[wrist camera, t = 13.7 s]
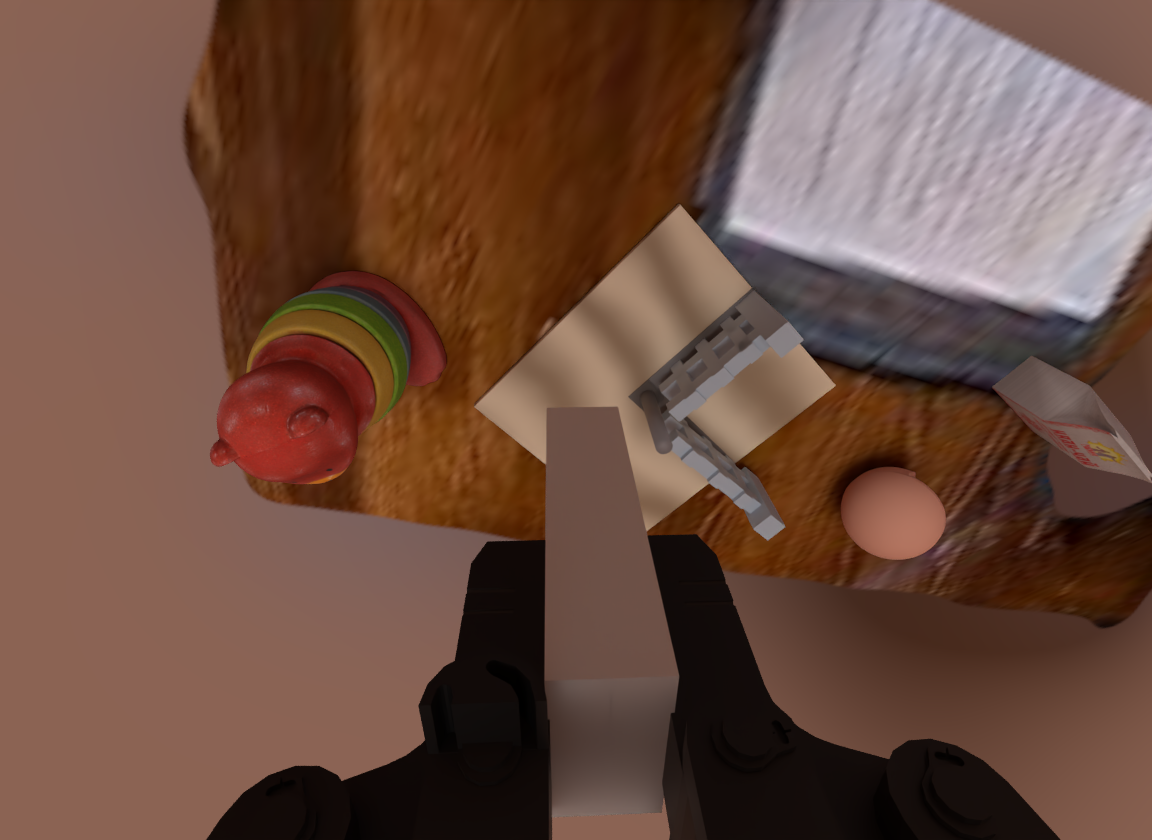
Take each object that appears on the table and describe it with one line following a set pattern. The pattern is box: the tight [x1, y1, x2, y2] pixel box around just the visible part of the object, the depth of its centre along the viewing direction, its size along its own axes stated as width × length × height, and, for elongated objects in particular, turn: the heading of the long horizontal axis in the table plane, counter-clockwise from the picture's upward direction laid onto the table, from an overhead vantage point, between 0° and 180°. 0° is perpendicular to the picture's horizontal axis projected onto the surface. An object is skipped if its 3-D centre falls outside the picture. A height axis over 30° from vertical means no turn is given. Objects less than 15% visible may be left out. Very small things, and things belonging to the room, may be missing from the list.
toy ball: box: [841, 467, 946, 560], centre depth 50 cm, size 8×8×8 cm
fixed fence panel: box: [640, 291, 804, 454], centre depth 42 cm, size 12×2×8 cm, turn 135°
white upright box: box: [992, 356, 1152, 483], centre depth 45 cm, size 4×7×10 cm, turn 50°
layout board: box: [474, 204, 836, 531], centre depth 48 cm, size 22×20×1 cm
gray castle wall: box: [662, 409, 785, 540], centre depth 47 cm, size 12×2×7 cm, turn 48°
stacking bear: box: [210, 271, 446, 484], centre depth 37 cm, size 11×10×18 cm
